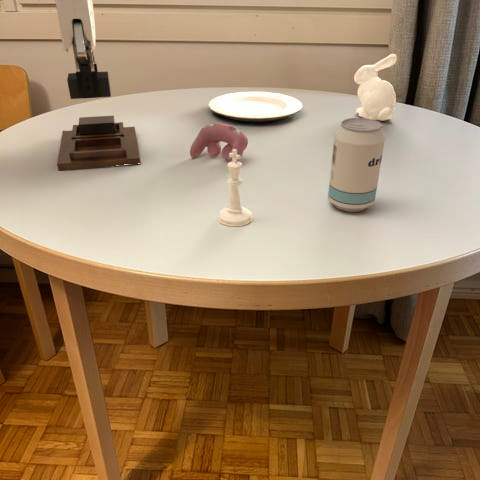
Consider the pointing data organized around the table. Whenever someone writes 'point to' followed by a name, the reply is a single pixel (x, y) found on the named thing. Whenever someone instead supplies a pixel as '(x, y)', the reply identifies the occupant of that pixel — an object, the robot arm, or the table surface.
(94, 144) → the brown stepped block
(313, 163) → the table surface
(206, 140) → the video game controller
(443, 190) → the table surface
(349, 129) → the beverage can
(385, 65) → the rabbit
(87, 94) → the robot arm
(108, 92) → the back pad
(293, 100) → the plate
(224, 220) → the chess piece
